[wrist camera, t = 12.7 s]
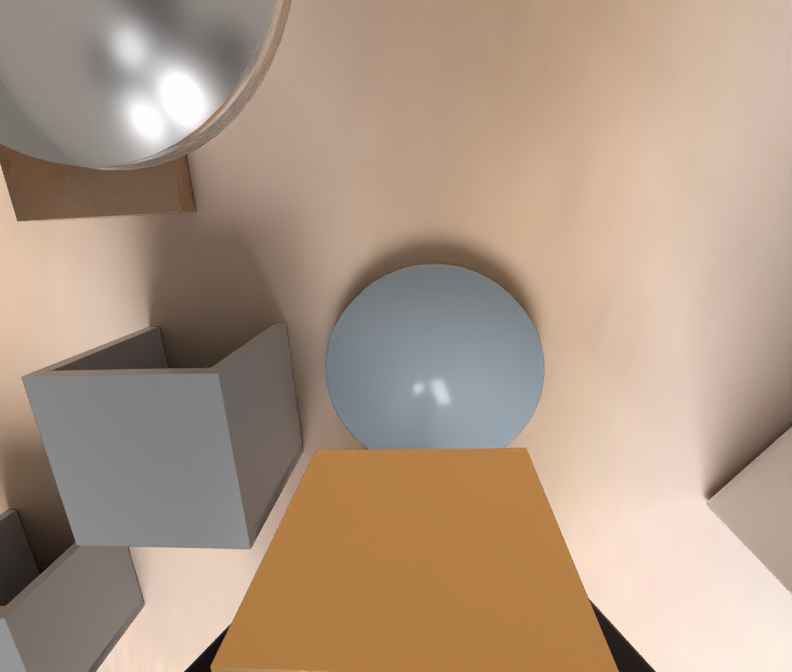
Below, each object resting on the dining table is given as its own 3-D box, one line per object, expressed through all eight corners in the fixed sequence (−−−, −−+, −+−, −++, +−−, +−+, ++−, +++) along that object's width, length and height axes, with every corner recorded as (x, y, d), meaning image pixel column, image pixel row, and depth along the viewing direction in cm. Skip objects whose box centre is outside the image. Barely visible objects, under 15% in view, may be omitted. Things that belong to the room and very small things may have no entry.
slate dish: (533, 457, 19) (539, 470, 18) (340, 457, 19) (335, 469, 19) (543, 258, 16) (550, 261, 15) (321, 268, 17) (314, 271, 16)
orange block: (520, 613, 9) (592, 926, 5) (336, 608, 9) (268, 895, 5) (526, 447, 8) (623, 682, 4) (316, 449, 8) (210, 666, 4)
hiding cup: (144, 605, 23) (51, 732, 18) (42, 601, 24) (-81, 723, 18) (117, 511, 22) (4, 618, 16) (7, 509, 22) (-141, 612, 16)
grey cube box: (303, 451, 20) (250, 549, 14) (177, 451, 20) (76, 545, 14) (286, 322, 18) (218, 373, 12) (148, 326, 18) (21, 377, 13)
